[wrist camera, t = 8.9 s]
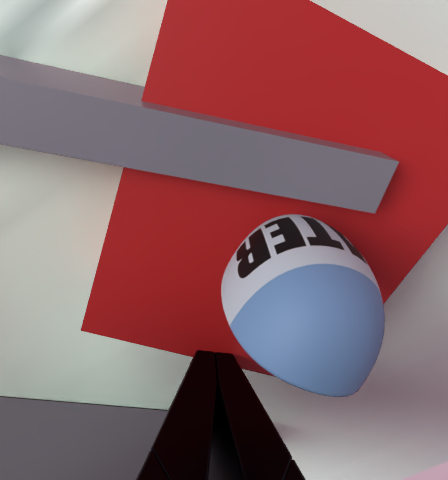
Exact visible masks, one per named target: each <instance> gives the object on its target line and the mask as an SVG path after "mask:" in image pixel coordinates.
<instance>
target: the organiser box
mask: <svg viewBox="0 0 448 480" xmlns="http://www.w3.org/2000/svg"><path fill="white" fill-rule="evenodd" d="M144 89H145V87H142V86H137V85H133V84H128V83H124V82H119V81H115V80H110V79H106V78H101V77H97V76H92V75H88V74H83V73H79V72H74V71H70V70H65V69H60V68H56V67H51V66H47V65H42V64H38V63H33V62H29V61H24V60H20V59H15V58H11V57H6V56H2V55H0V144H2V145H7V146H13V147H18V148H24V149H29V150H34V151H40V152H45V153H51V154H56V155H61V156H67V157H72V158H78V159H83V160H88V161H94V162H99V163H105V164H110V165H115V166H121V167H126V168H132V169H137V170H143V171H148V172H153V173H159V174H164V175H170V176H175V177H180V178H186V179H191V180H197V181H202V182H207V183H213V184H218V185H224V186H229V187H234V188H240V189H245V190H251V191H256V192H261V193H267V194H272V195H278V196H283V197H289V198H294V199H299V200H305V201H310V202H316V203H321V204H326V205H332V206H337V207H343V208H348V209H353V210H359V211H364V212H370V213H375V212H376V210H377V208H378V206H379V204H380V202H381V200H382V197H383V195H384V193H385V191H386V189H387V187H388V185H389V182H390V180H391V178H392V176H393V174H394V172H395V170H396V168H397V165H398V163H399V161H397V160H395V159H393V158H391V157H389V156H387V155H385V154H384V153H382V152H378V151H374V150H369V149H364V148H360V147H355V146H350V145H346V144H341V143H336V142H332V141H327V140H322V139H318V138H313V137H308V136H304V135H299V134H294V133H290V132H285V131H280V130H276V129H271V128H266V127H262V126H257V125H252V124H248V123H243V122H238V121H234V120H229V119H224V118H220V117H215V116H210V115H206V114H201V113H196V112H192V111H187V110H182V109H177V108H173V107H168V106H163V105H159V104H154V103H149V102H145V101H141V100H142V96H143V92H144ZM167 413H168V411H164V410H152V409H140V408H128V407H116V406H104V405H92V404H79V403H67V402H55V401H43V400H31V399H19V398H7V397H0V480H136V478H137V476H138V474H139V472H140V470H141V468H142V466H143V464H144V461H145V459H146V457H147V455H148V453H149V451H150V450H151V447H152V445H153V443H154V440H155V438H156V436H157V434H158V432H159V430H160V428H161V425H162V423H163V421H164V419H165V417H166V415H167Z"/></svg>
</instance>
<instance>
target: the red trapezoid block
mask: <svg viewBox="0 0 448 480" xmlns="http://www.w3.org/2000/svg"><path fill="white" fill-rule="evenodd" d="M141 101H145V102H149V103H154V104H159V105H163V106H168V107H173V108H177V109H182V110H187V111H192V112H196V113H201V114H206V115H210V116H215V117H220V118H224V119H229V120H234V121H238V122H243V123H248V124H252V125H257V126H262V127H266V128H271V129H276V130H280V131H285V132H290V133H294V134H299V135H304V136H308V137H313V138H318V139H322V140H327V141H332V142H336V143H341V144H346V145H350V146H355V147H360V148H364V149H369V150H374V151H378V152H382V153H384V154H385V155H387V156H389V157H391V158H393V159H395V160H397V161H399V163H398V165H397V168H396V170H395V172H394V174H393V176H392V178H391V180H390V182H389V185H388V187H387V189H386V191H385V193H384V195H383V197H382V200H381V202H380V204H379V206H378V208H377V210H376V212H375V213H370V212H364V211H359V210H353V209H348V208H343V207H337V206H332V205H326V204H321V203H316V202H310V201H305V200H299V199H294V198H289V197H283V196H278V195H272V194H267V193H261V192H256V191H251V190H245V189H240V188H234V187H229V186H224V185H218V184H213V183H207V182H202V181H197V180H191V179H186V178H180V177H175V176H170V175H164V174H159V173H153V172H148V171H143V170H137V169H132V168H126V167H124V168H123V172H122V176H121V180H120V184H119V187H118V191H117V195H116V199H115V202H114V206H113V210H112V214H111V218H110V221H109V225H108V229H107V233H106V237H105V240H104V244H103V248H102V252H101V256H100V259H99V263H98V267H97V271H96V275H95V278H94V282H93V286H92V290H91V294H90V297H89V301H88V305H87V309H86V313H85V316H84V320H83V324H82V328H81V331H85V332H89V333H93V334H98V335H102V336H106V337H110V338H115V339H119V340H123V341H127V342H131V343H136V344H140V345H144V346H148V347H153V348H157V349H161V350H165V351H169V352H174V353H178V354H182V355H186V356H191V357H194V355H195V353H196V351H197V350H203V351H213V352H214V353H216V352H222V353H231V354H233V355H234V357H235V358H236V360H237V362H238V364H239V365H240V367H241V369H245V370H250V371H254V372H258V373H262V374H267V375H271V376H275V377H277V378H279V379H281V380H283V381H285V382H287V383H289V384H291V385H293V386H296V387H298V388H301V389H303V390H306V391H309V392H312V393H316V394H320V395H325V396H332V397H345V396H349V395H352V394H354V393H355V392H356V391H358V390H359V388H360V387H361V386H362V384H363V383H364V381H365V380H366V378H367V377H368V375H369V373H370V371H371V370H372V368H373V366H374V364H375V361H376V359H377V356H378V354H379V351H380V348H381V344H382V340H383V334H384V323H385V317H384V307H383V304H384V303H385V302H386V300H387V299H388V298H389V297H390V295H391V294H392V293H393V292H394V290H395V289H396V288H397V287H398V285H399V284H400V283H401V282H402V280H403V279H404V278H405V277H406V275H407V274H408V273H409V272H410V270H411V269H412V268H413V267H414V265H415V264H416V263H417V262H418V260H419V259H420V258H421V257H422V255H423V254H424V253H425V252H426V250H427V249H428V248H429V247H430V245H431V244H432V243H433V242H434V240H435V239H436V238H437V237H438V235H439V234H440V233H441V232H442V230H443V229H444V228H445V227H446V226H447V224H448V76H447V75H445V74H444V73H442V72H440V71H438V70H436V69H434V68H433V67H431V66H429V65H427V64H425V63H423V62H422V61H420V60H418V59H416V58H414V57H412V56H411V55H409V54H407V53H405V52H403V51H401V50H400V49H398V48H396V47H394V46H392V45H390V44H389V43H387V42H385V41H383V40H381V39H379V38H378V37H376V36H374V35H372V34H370V33H368V32H367V31H365V30H363V29H361V28H359V27H357V26H356V25H354V24H352V23H350V22H348V21H346V20H345V19H343V18H341V17H339V16H337V15H335V14H334V13H332V12H330V11H328V10H326V9H324V8H323V7H321V6H319V5H317V4H315V3H313V2H312V1H310V0H168V1H167V5H166V9H165V13H164V17H163V20H162V24H161V28H160V32H159V35H158V39H157V43H156V47H155V51H154V54H153V58H152V62H151V66H150V70H149V73H148V77H147V81H146V85H145V89H144V92H143V96H142V100H141Z"/></svg>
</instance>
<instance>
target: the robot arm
mask: <svg viewBox="0 0 448 480" xmlns="http://www.w3.org/2000/svg"><path fill="white" fill-rule="evenodd" d="M136 480H305V478H304V476H303V475H302V473H301V471H300V469H299V468H298V466H297V464H296V462H295V461H294V460H292V456H291V454H290V452H289V450H288V449H287V447H286V445H285V443H284V442H283V440H282V438H281V437H280V435H279V433H278V431H277V430H276V428H275V426H274V424H273V423H272V421H271V419H270V417H269V416H268V414H267V412H266V411H265V409H264V407H263V405H262V404H261V402H260V400H259V398H258V397H257V395H256V393H255V391H254V390H253V388H252V386H251V384H250V383H249V381H248V379H247V378H246V376H245V374H244V372H243V371H242V369H241V367H240V365H239V364H238V362H237V360H236V358H235V357H234V355H233V354H231V353H222V352H216V353H214V352H213V351H203V350H197V351H196V353H195V355H194V357H193V359H192V361H191V363H190V366H189V368H188V370H187V372H186V374H185V376H184V378H183V381H182V383H181V385H180V387H179V389H178V391H177V393H176V395H175V398H174V400H173V402H172V404H171V406H170V408H169V410H168V413H167V415H166V417H165V419H164V421H163V423H162V425H161V428H160V430H159V432H158V434H157V436H156V438H155V440H154V443H153V445H152V447H151V450H150V451H149V453H148V455H147V457H146V459H145V461H144V464H143V466H142V468H141V470H140V472H139V474H138V476H137V478H136Z"/></svg>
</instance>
